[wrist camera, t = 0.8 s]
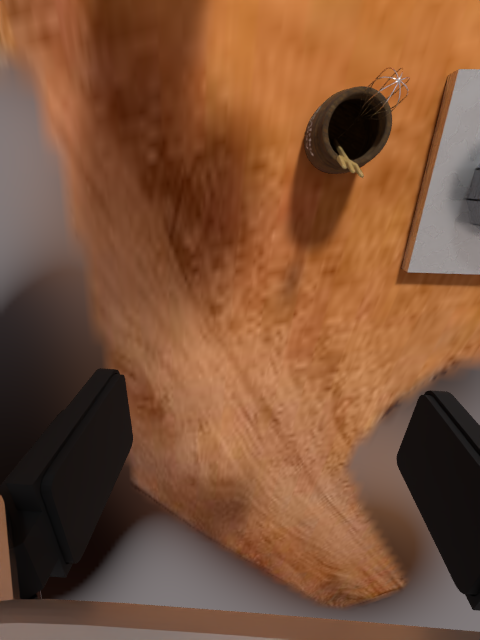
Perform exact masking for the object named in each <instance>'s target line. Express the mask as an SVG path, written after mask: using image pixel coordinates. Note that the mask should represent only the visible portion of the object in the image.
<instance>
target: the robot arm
mask: <svg viewBox="0 0 480 640" xmlns="http://www.w3.org/2000/svg"><path fill="white" fill-rule="evenodd" d="M132 442H133V433H132V426H131V419H130V412H129V404H128V397H127V390H126V383H125V377H124V375H120V373H119V371H118V370H115V369H98V370H96V372H95V373H94V374H93V375H92V377H91V378H90V379H89V380H88V382H87V383H86V384H85V385H84V387H83V388H82V389H81V390H80V392H79V393H78V394H77V395H76V397H75V398H74V399H73V400H72V401H71V403H70V404H69V405H68V406H67V408H66V409H65V410H63V411H61V412H60V414H58V415H57V417H56V418H55V419H54V420H53V422H52V423H51V424H50V425H49V427H48V428H47V429H46V430H45V431H44V433H43V434H42V435H41V436H40V438H39V439H38V440H37V441H36V443H35V444H34V445H33V446H32V447H31V449H30V450H29V451H28V452H27V454H26V455H25V456H24V457H23V458H22V460H21V461H20V462H19V463H18V465H17V466H16V467H15V468H14V470H13V471H12V472H11V473H10V474H9V476H8V477H7V478H6V479H5V481H4V482H3V483H2V484H1V485H0V640H480V632H474V631H463V630H451V629H440V628H428V627H417V626H405V625H393V624H382V623H370V622H358V621H346V620H334V619H322V618H309V617H297V616H284V615H271V614H259V613H247V612H234V611H221V610H208V609H195V608H181V607H168V606H155V605H140V604H128V603H111V602H93V601H92V602H91V601H75V600H55V599H41V593H40V590H42V589H43V588H44V586H45V584H46V582H47V580H48V578H49V576H54V577H66V576H67V574H68V572H69V570H70V568H71V566H72V564H73V563H77V562H79V560H80V559H81V557H82V555H83V553H84V551H85V549H86V547H87V544H88V542H89V540H90V538H91V536H92V533H93V531H94V529H95V527H96V524H97V522H98V520H99V518H100V516H101V513H102V511H103V509H104V507H105V505H106V502H107V500H108V498H109V496H110V493H111V491H112V489H113V487H114V484H115V482H116V480H117V478H118V476H119V473H120V471H121V469H122V467H123V465H124V462H125V460H126V458H127V456H128V454H129V451H130V449H131V446H132ZM397 465H398V467H399V470H400V472H401V474H402V476H403V478H404V480H405V482H406V484H407V486H408V488H409V490H410V492H411V495H412V497H413V499H414V501H415V503H416V505H417V507H418V509H419V511H420V513H421V515H422V517H423V519H424V521H425V523H426V525H427V527H428V530H429V531H430V534H431V536H432V538H433V540H434V542H435V544H436V546H437V548H438V550H439V552H440V554H441V556H442V558H443V560H444V562H445V564H446V566H447V568H448V571H449V573H450V574H451V577H452V579H453V581H454V583H455V585H456V586H457V588H458V589H459V591H460V592H462V593H463V594H465V595H466V597H467V599H468V601H469V603H470V605H471V607H472V609H473V610H480V425H478V423H477V422H476V421H475V420H474V419H473V418H472V416H471V415H470V414H469V413H468V412H467V411H466V410H465V409H464V407H463V406H462V405H461V404H460V403H459V402H458V401H457V400H456V398H455V397H454V396H453V395H452V394H451V393H449V392H443V391H427V392H425V394H424V395H421V396H420V397H419V399H418V401H417V404H416V407H415V409H414V412H413V415H412V417H411V420H410V423H409V425H408V428H407V430H406V433H405V435H404V438H403V441H402V443H401V446H400V449H399V451H398V454H397Z"/></svg>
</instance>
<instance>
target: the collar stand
mask: <svg viewBox="0 0 480 640" xmlns="http://www.w3.org/2000/svg"><path fill="white" fill-rule="evenodd" d="M401 269H403V270H405V271H406V272H413V273H447V274H480V70H477V69H459V70H457V71H455V72H453V73H451V74H449V75H448V78H447V83H446V87H445V91H444V95H443V99H442V103H441V107H440V111H439V115H438V120H437V124H436V128H435V132H434V136H433V140H432V144H431V148H430V153H429V157H428V161H427V165H426V169H425V173H424V177H423V181H422V185H421V190H420V194H419V198H418V202H417V206H416V210H415V214H414V218H413V222H412V227H411V231H410V235H409V239H408V243H407V247H406V251H405V255H404V260H403V264H402V268H401Z"/></svg>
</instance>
